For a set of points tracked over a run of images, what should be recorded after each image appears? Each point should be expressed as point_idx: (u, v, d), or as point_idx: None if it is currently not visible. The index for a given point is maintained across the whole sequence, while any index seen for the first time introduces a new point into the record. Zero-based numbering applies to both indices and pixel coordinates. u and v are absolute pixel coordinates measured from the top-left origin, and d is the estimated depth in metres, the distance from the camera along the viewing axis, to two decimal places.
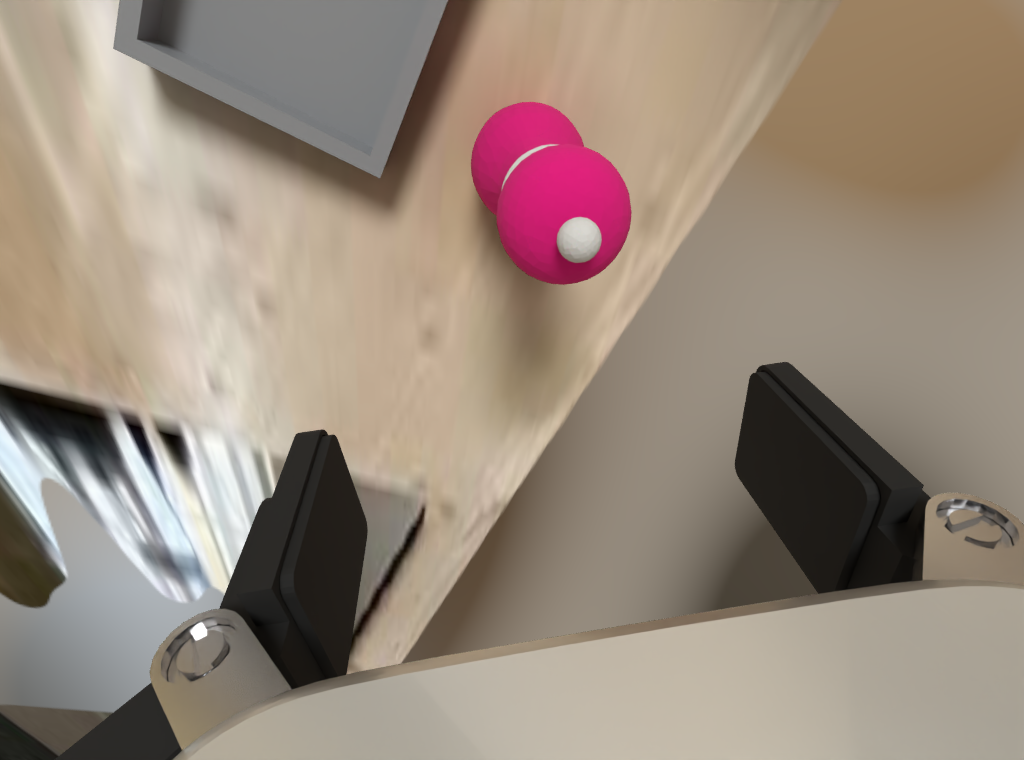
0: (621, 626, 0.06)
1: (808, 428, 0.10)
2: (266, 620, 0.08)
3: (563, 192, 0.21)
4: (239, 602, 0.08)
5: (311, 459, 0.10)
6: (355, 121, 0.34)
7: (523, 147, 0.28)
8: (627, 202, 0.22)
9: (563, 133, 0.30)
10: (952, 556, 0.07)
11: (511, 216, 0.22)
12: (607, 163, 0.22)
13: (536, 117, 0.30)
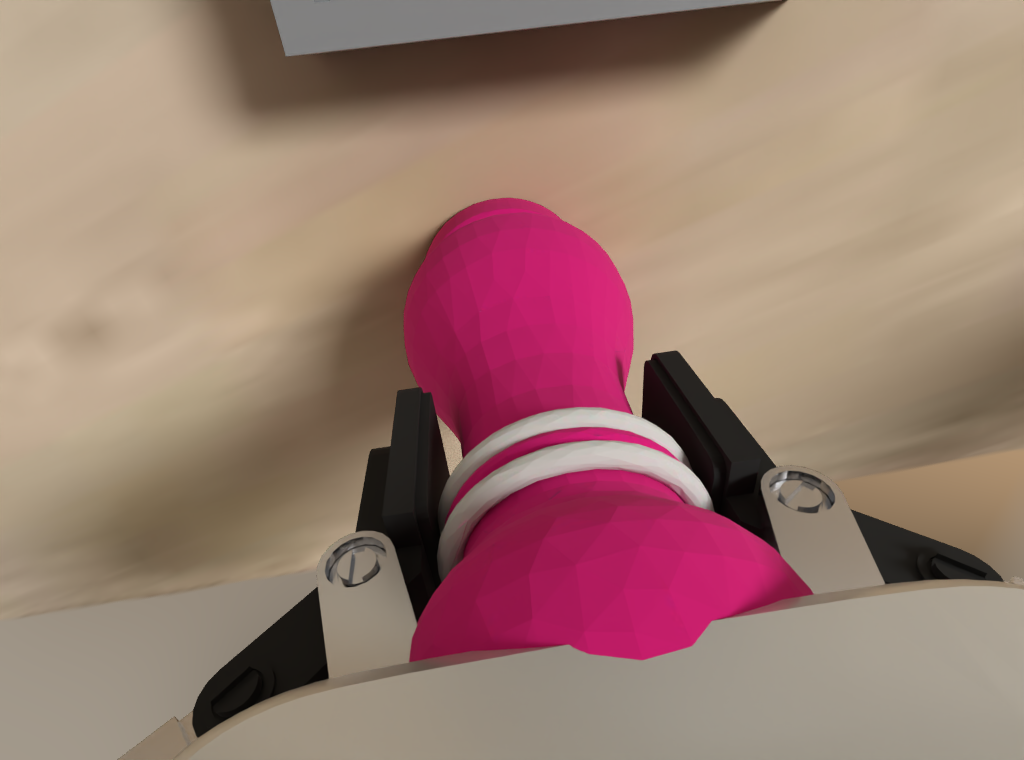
0: None
1: (678, 409, 0.10)
2: (403, 543, 0.09)
3: None
4: (371, 531, 0.09)
5: (418, 411, 0.11)
6: None
7: (592, 351, 0.12)
8: None
9: (627, 372, 0.15)
10: (796, 530, 0.08)
11: None
12: None
13: (623, 309, 0.14)
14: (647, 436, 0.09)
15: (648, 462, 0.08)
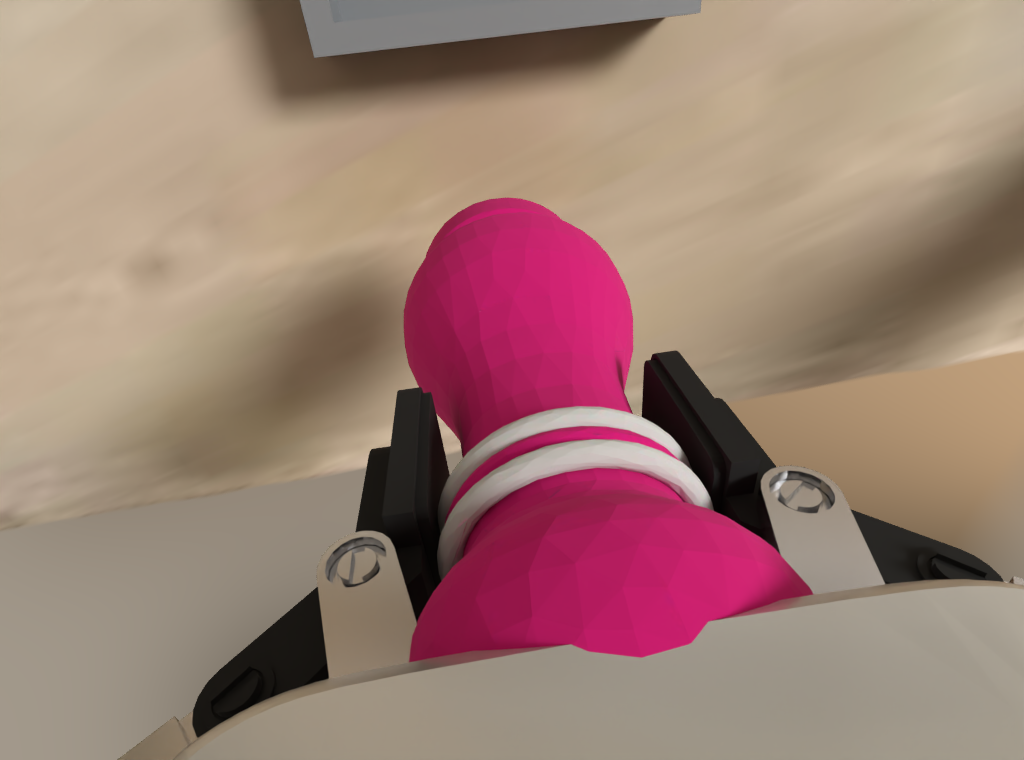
0: None
1: (678, 409, 0.10)
2: (403, 543, 0.09)
3: None
4: (371, 531, 0.09)
5: (418, 411, 0.11)
6: None
7: (592, 351, 0.12)
8: None
9: (627, 371, 0.15)
10: (796, 530, 0.08)
11: None
12: None
13: (622, 309, 0.14)
14: (647, 435, 0.09)
15: (648, 461, 0.08)
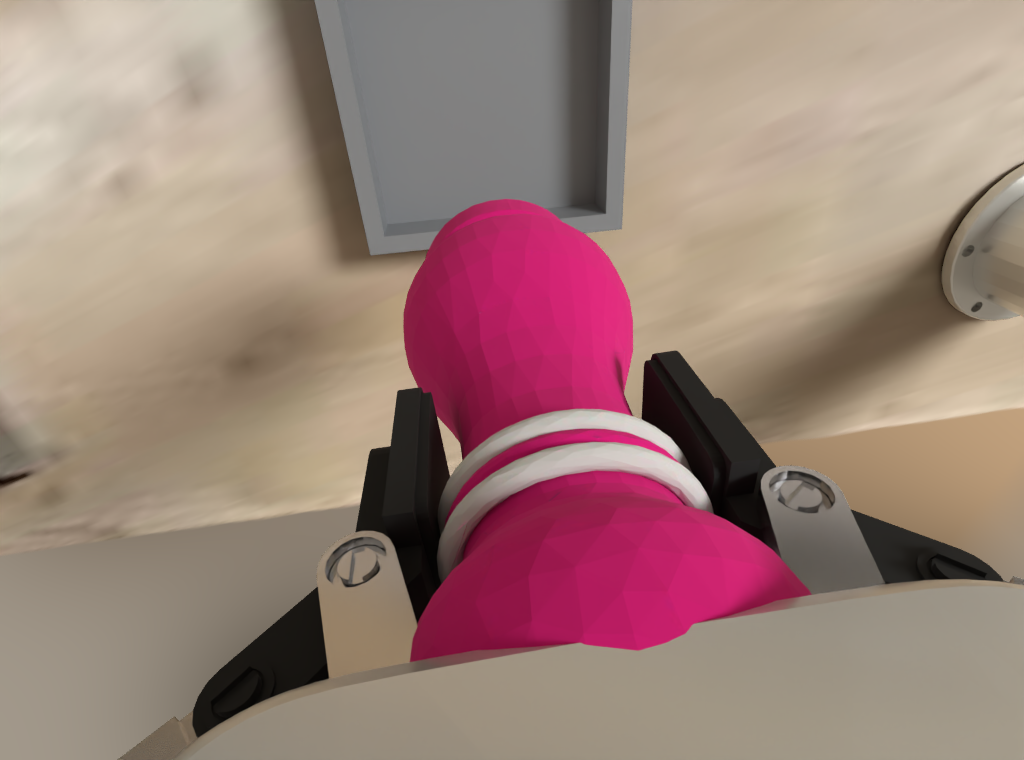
0: None
1: (678, 409, 0.10)
2: (403, 543, 0.09)
3: None
4: (371, 531, 0.09)
5: (418, 411, 0.11)
6: (399, 195, 0.32)
7: (591, 352, 0.12)
8: None
9: (627, 373, 0.15)
10: (796, 530, 0.08)
11: None
12: None
13: (622, 310, 0.14)
14: (646, 438, 0.09)
15: (647, 464, 0.08)
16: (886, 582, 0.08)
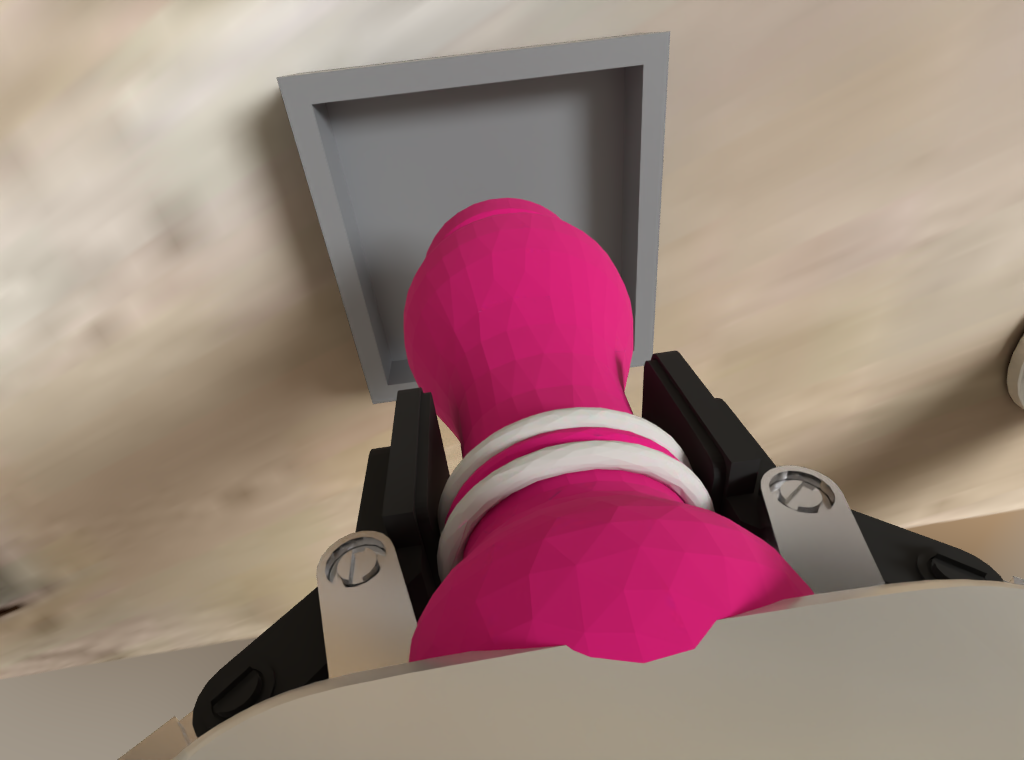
0: None
1: (678, 409, 0.10)
2: (403, 543, 0.09)
3: None
4: (371, 531, 0.09)
5: (418, 411, 0.11)
6: (403, 332, 0.29)
7: (592, 351, 0.12)
8: None
9: (627, 372, 0.15)
10: (796, 530, 0.08)
11: None
12: None
13: (623, 309, 0.14)
14: (647, 436, 0.09)
15: (648, 462, 0.08)
16: (886, 582, 0.08)
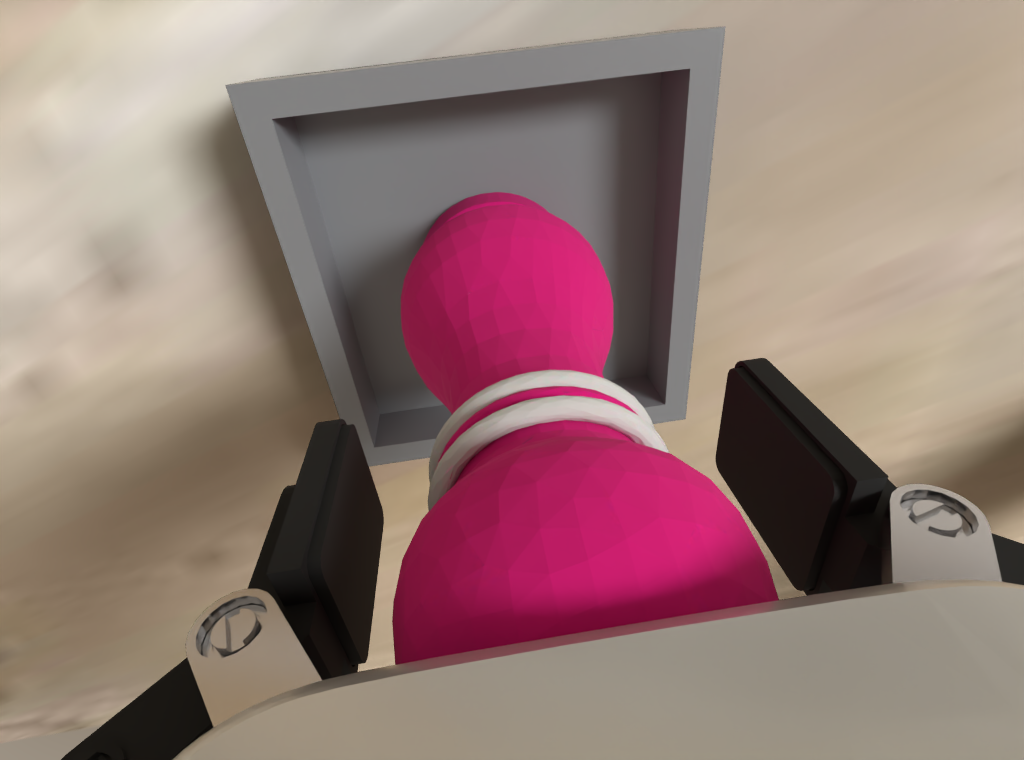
0: (621, 626, 0.06)
1: (781, 422, 0.10)
2: (294, 600, 0.08)
3: None
4: (266, 584, 0.09)
5: (332, 447, 0.10)
6: (393, 382, 0.24)
7: (569, 327, 0.13)
8: None
9: (606, 350, 0.16)
10: (918, 547, 0.07)
11: (542, 611, 0.06)
12: None
13: (601, 292, 0.16)
14: (612, 395, 0.10)
15: (609, 414, 0.10)
16: None
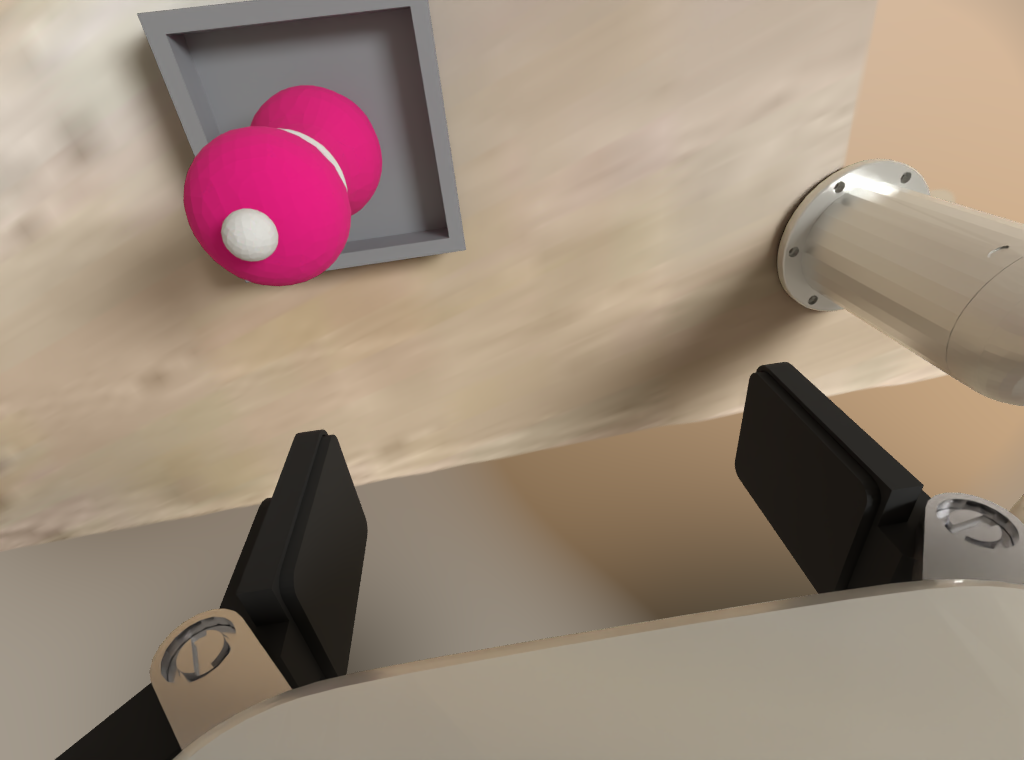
0: (621, 626, 0.06)
1: (808, 428, 0.10)
2: (266, 620, 0.08)
3: (279, 186, 0.19)
4: (239, 602, 0.08)
5: (311, 459, 0.10)
6: None
7: (316, 133, 0.25)
8: (329, 255, 0.21)
9: (362, 165, 0.28)
10: (952, 556, 0.07)
11: (217, 153, 0.18)
12: (344, 212, 0.21)
13: (355, 130, 0.28)
14: (308, 141, 0.23)
15: None
16: None
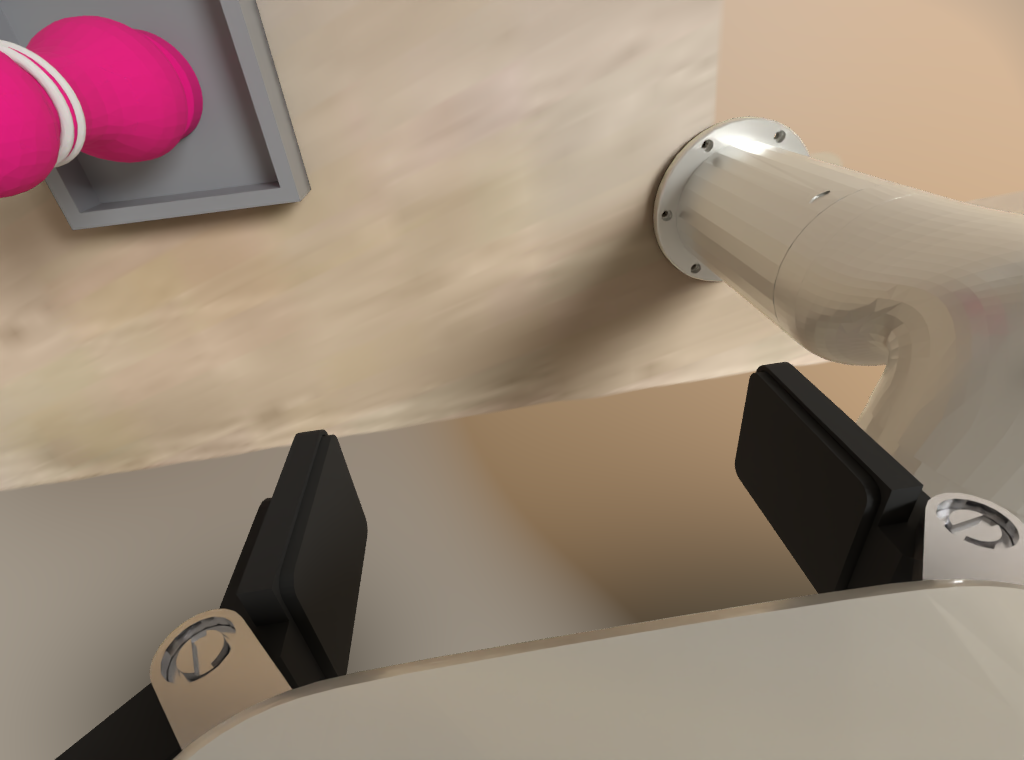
0: (621, 626, 0.06)
1: (808, 428, 0.10)
2: (266, 620, 0.08)
3: None
4: (239, 602, 0.08)
5: (311, 459, 0.10)
6: (103, 177, 0.36)
7: (66, 54, 0.25)
8: (13, 164, 0.20)
9: (141, 97, 0.28)
10: (952, 556, 0.07)
11: None
12: (25, 117, 0.20)
13: (132, 60, 0.27)
14: (24, 53, 0.22)
15: None
16: None
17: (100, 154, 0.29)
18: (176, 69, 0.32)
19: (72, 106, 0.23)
